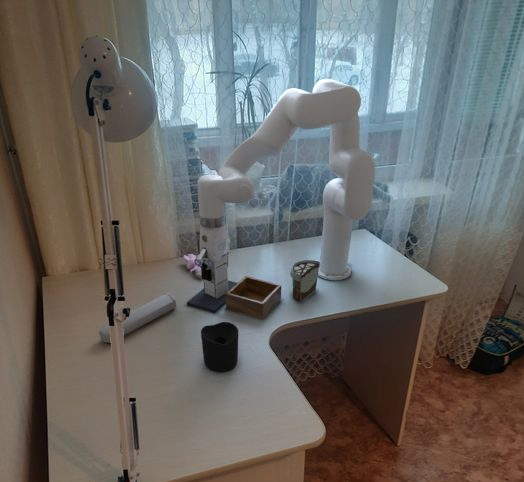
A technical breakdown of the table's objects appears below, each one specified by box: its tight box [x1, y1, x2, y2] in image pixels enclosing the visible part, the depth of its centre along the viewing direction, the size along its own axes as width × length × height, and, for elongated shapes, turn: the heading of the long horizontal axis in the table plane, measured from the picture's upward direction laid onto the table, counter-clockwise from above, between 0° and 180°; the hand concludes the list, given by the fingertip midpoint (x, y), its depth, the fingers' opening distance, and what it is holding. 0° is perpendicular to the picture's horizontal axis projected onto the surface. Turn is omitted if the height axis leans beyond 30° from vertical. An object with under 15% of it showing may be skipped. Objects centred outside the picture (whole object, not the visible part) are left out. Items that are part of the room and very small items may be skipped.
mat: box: [186, 280, 238, 314], centre depth 158 cm, size 18×10×1 cm, turn 153°
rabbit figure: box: [182, 253, 203, 281], centre depth 169 cm, size 6×6×15 cm
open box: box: [225, 275, 282, 320], centre depth 152 cm, size 13×13×5 cm
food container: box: [289, 259, 320, 304], centre depth 157 cm, size 12×6×10 cm, turn 145°
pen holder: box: [200, 321, 239, 373], centre depth 127 cm, size 9×9×10 cm
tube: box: [98, 291, 177, 344], centre depth 142 cm, size 5×5×25 cm
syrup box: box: [202, 251, 229, 299], centre depth 153 cm, size 6×6×14 cm
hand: (215, 273), depth 153 cm, fingers open, 9 cm apart
